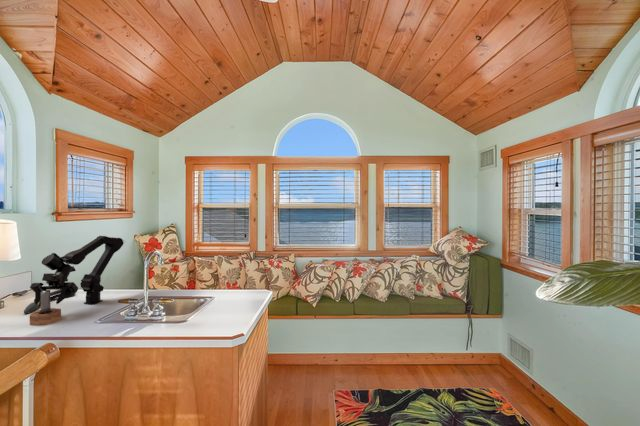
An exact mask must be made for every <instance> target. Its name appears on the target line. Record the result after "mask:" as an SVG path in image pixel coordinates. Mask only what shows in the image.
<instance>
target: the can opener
mask: <svg viewBox="0 0 640 426" xmlns="http://www.w3.org/2000/svg"><path fill="white" fill-rule="evenodd" d="M60 293H61V289H58V290H53V291H50V302H52V301H53V300H57V299H58V297H59V295H60ZM75 295H76V293H73V294H71V295H69V296H68V297H66V298H65V299H69V298H72V297H73V296H75Z"/></svg>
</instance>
